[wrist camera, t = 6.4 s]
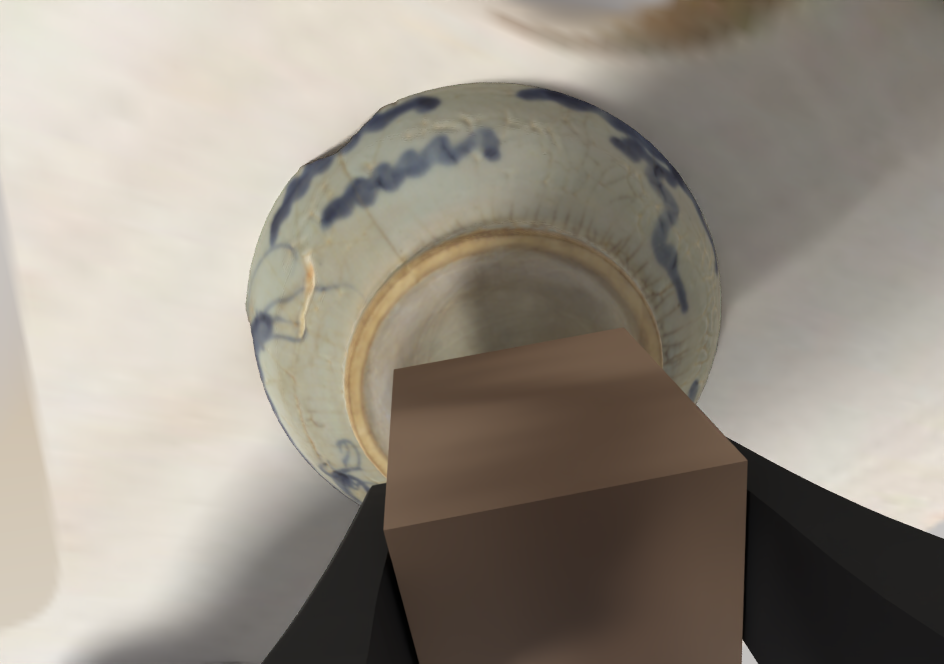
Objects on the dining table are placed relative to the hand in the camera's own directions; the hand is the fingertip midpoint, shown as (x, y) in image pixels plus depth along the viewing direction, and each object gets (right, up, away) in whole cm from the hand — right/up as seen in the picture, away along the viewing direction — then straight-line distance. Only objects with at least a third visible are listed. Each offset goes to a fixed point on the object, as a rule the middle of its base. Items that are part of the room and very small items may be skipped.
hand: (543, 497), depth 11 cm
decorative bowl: (-1, +3, +8) cm, 8 cm away
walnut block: (0, +1, +2) cm, 2 cm away
